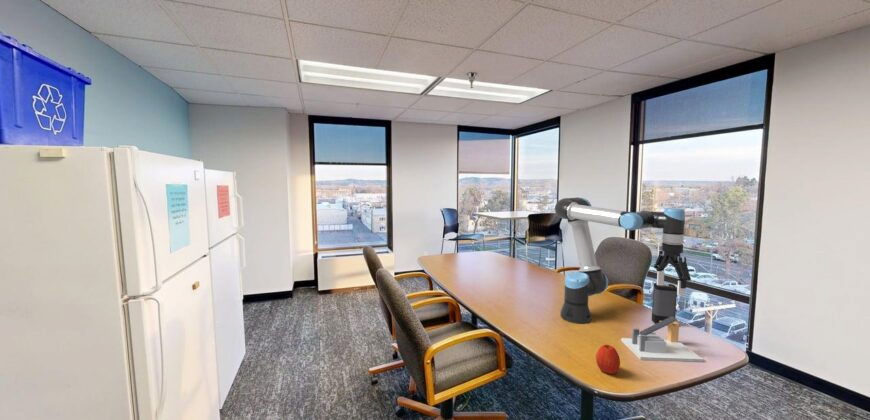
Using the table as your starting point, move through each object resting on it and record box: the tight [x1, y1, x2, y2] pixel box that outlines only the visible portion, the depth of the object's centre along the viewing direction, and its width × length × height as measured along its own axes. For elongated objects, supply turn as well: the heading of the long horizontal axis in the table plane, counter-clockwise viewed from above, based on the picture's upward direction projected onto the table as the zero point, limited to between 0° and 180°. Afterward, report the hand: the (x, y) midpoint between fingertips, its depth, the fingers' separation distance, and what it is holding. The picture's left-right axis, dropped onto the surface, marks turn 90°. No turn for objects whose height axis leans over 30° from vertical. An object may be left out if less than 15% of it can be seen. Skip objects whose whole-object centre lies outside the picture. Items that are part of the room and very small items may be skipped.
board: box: [620, 327, 704, 363], centre depth 139 cm, size 24×16×8 cm, turn 86°
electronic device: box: [651, 282, 678, 325], centre depth 165 cm, size 9×6×20 cm, turn 71°
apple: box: [595, 344, 621, 375], centre depth 124 cm, size 8×8×11 cm
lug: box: [660, 321, 680, 342], centre depth 145 cm, size 6×3×8 cm, turn 86°
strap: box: [635, 316, 678, 337], centre depth 138 cm, size 17×4×1 cm, turn 85°
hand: (670, 290), depth 145 cm, fingers open, 13 cm apart
